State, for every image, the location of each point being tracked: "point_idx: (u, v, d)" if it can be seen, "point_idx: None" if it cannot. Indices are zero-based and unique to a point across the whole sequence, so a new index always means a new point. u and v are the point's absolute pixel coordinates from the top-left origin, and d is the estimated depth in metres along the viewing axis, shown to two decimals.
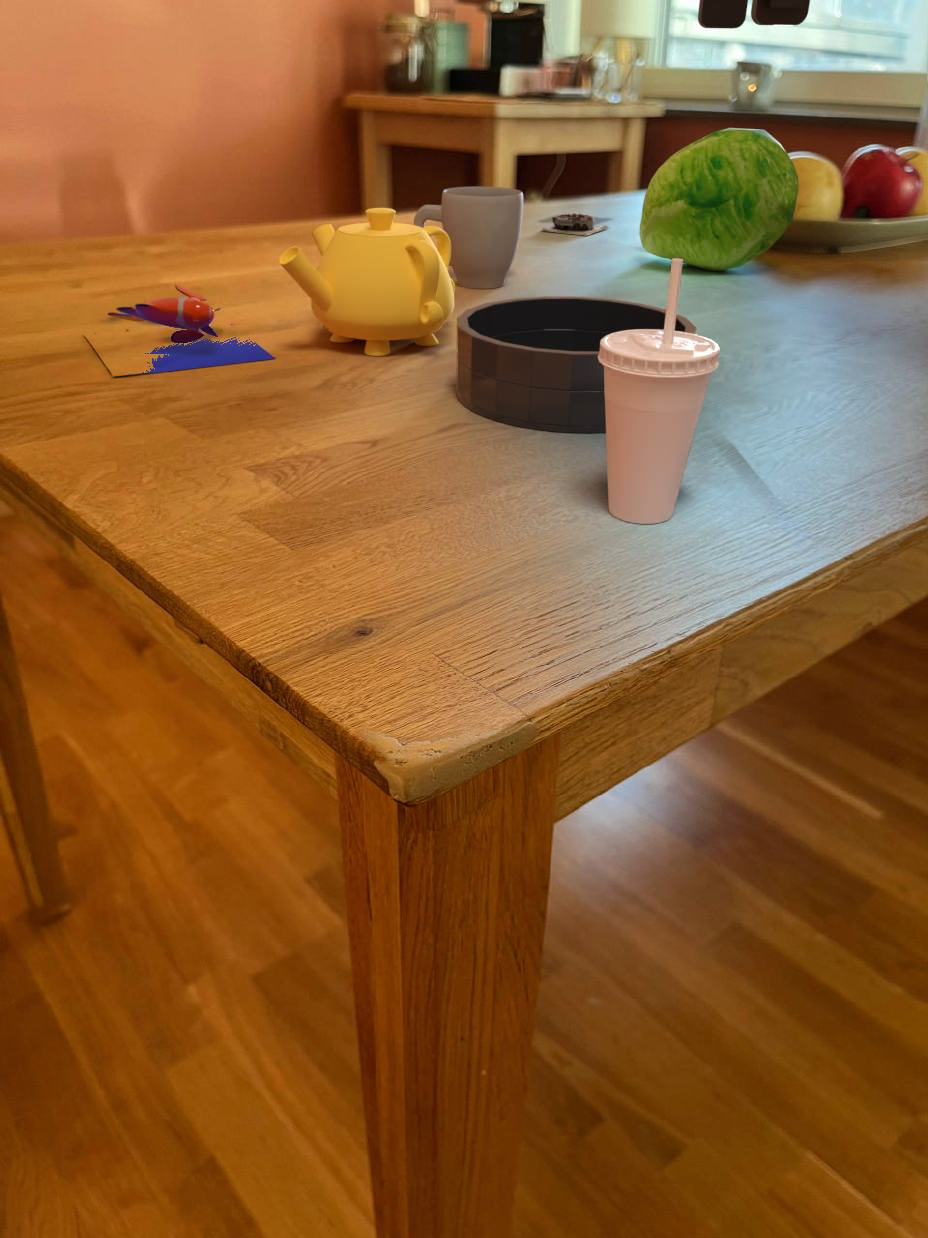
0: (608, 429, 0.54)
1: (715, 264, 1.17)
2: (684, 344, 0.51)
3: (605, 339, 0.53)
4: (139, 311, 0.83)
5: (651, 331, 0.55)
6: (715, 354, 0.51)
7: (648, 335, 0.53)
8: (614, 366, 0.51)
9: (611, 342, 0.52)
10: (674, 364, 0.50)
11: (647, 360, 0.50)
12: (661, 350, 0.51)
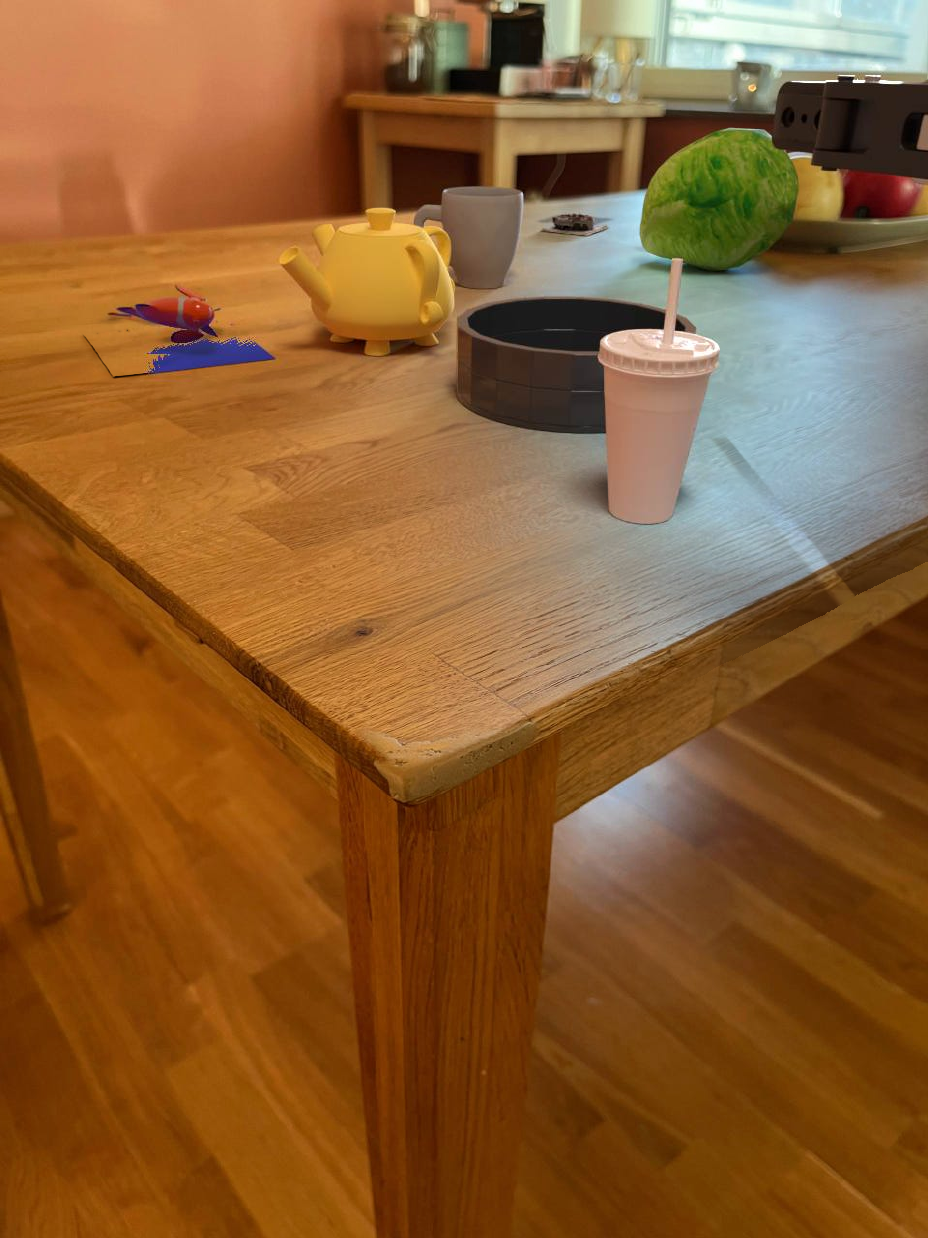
0: (608, 429, 0.54)
1: (715, 264, 1.17)
2: (684, 344, 0.51)
3: (605, 339, 0.53)
4: (139, 311, 0.83)
5: (651, 331, 0.55)
6: (715, 354, 0.51)
7: (648, 335, 0.53)
8: (614, 366, 0.51)
9: (611, 342, 0.52)
10: (674, 364, 0.50)
11: (647, 360, 0.50)
12: (661, 350, 0.51)
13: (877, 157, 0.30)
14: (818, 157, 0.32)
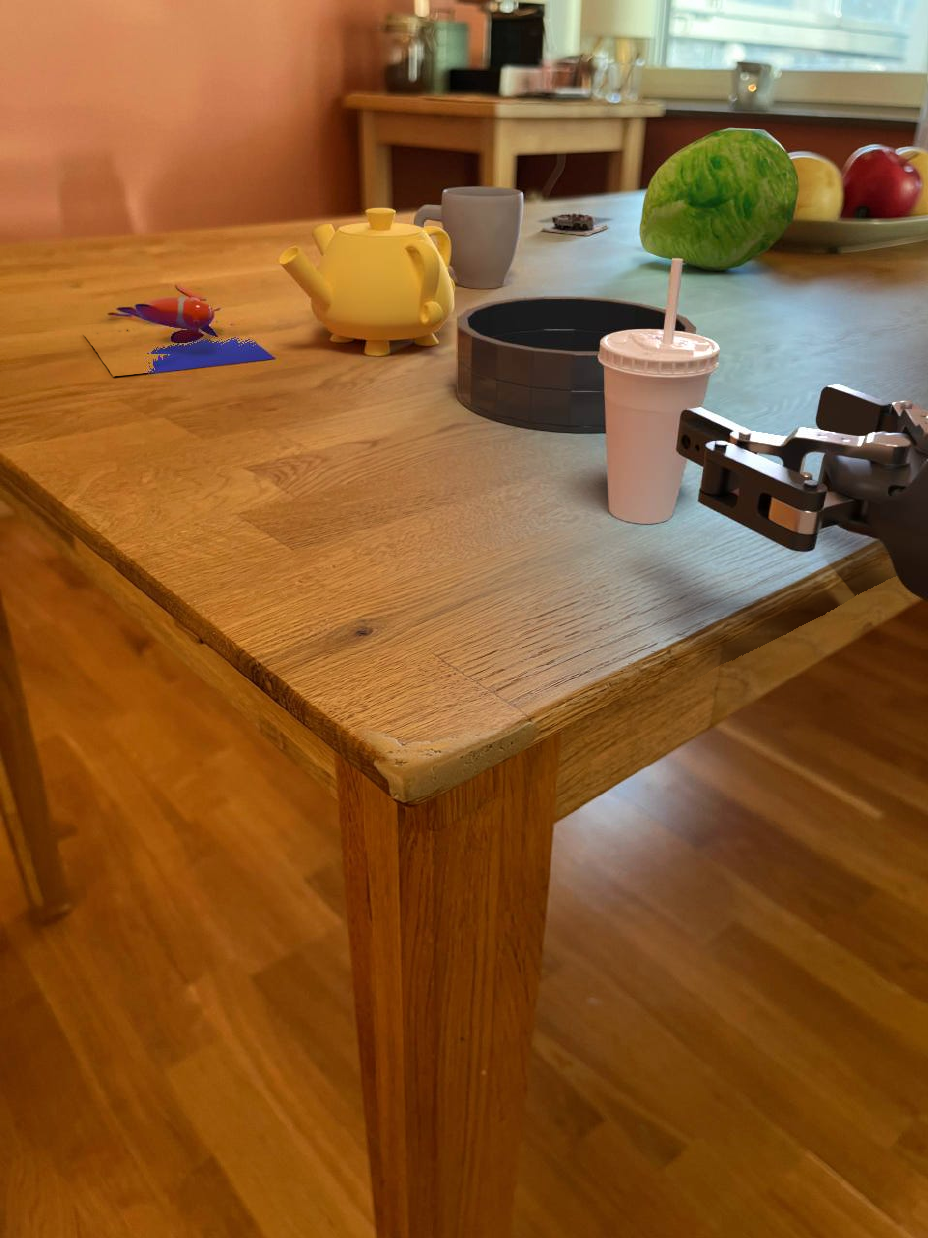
0: (608, 429, 0.54)
1: (715, 264, 1.17)
2: (684, 344, 0.51)
3: (605, 339, 0.53)
4: (139, 311, 0.83)
5: (651, 331, 0.55)
6: (715, 354, 0.51)
7: (648, 335, 0.53)
8: (614, 366, 0.51)
9: (611, 342, 0.52)
10: (674, 364, 0.50)
11: (647, 360, 0.50)
12: (661, 350, 0.51)
13: (742, 514, 0.39)
14: (702, 498, 0.41)
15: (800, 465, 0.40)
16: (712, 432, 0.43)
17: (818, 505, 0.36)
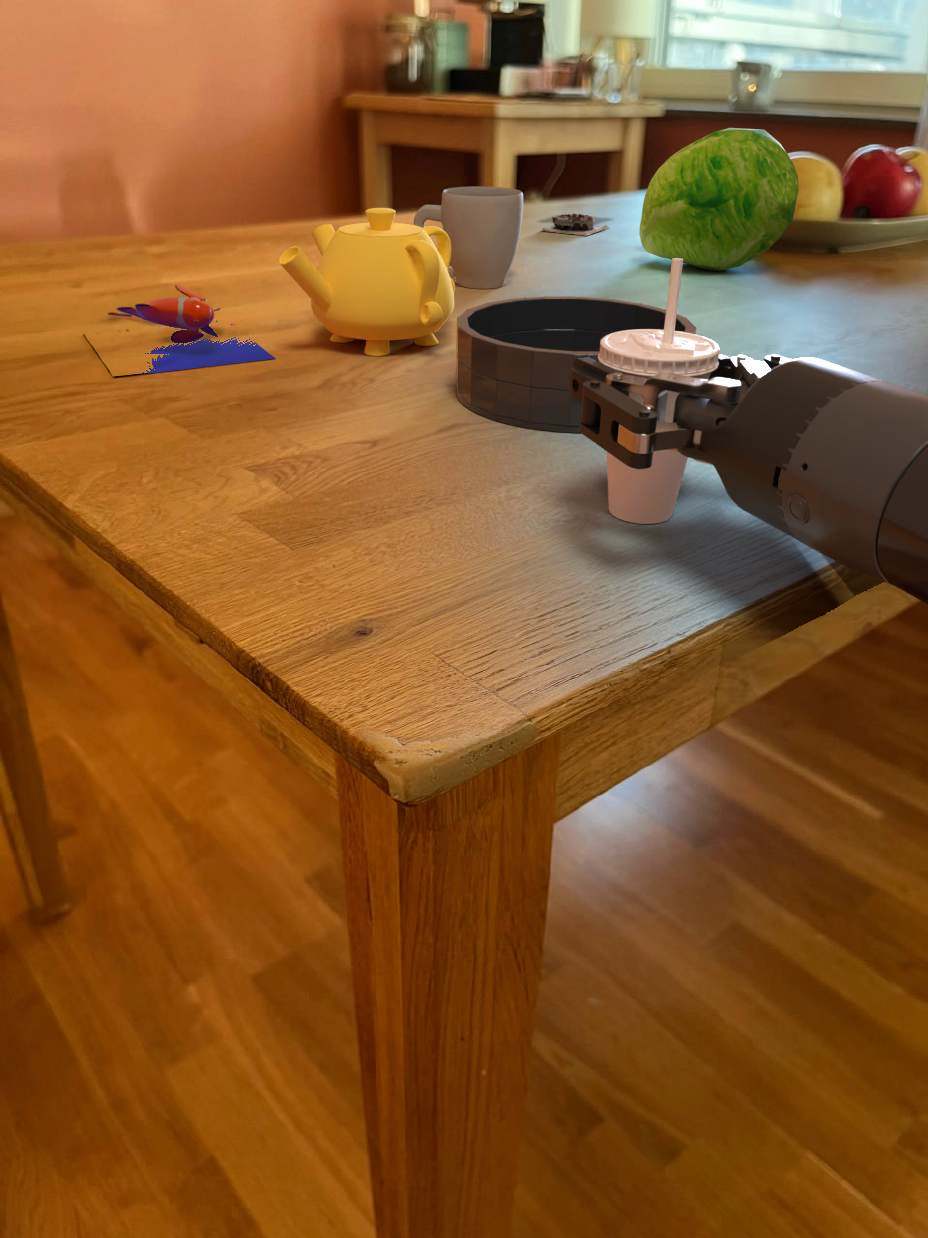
0: None
1: (715, 264, 1.17)
2: (684, 344, 0.51)
3: (605, 339, 0.53)
4: (139, 311, 0.83)
5: (651, 331, 0.55)
6: (715, 354, 0.51)
7: (648, 335, 0.53)
8: (614, 366, 0.51)
9: (611, 342, 0.52)
10: (674, 364, 0.50)
11: (647, 360, 0.50)
12: (661, 350, 0.51)
13: (602, 439, 0.47)
14: (581, 427, 0.49)
15: (656, 402, 0.48)
16: (596, 376, 0.51)
17: (647, 429, 0.44)
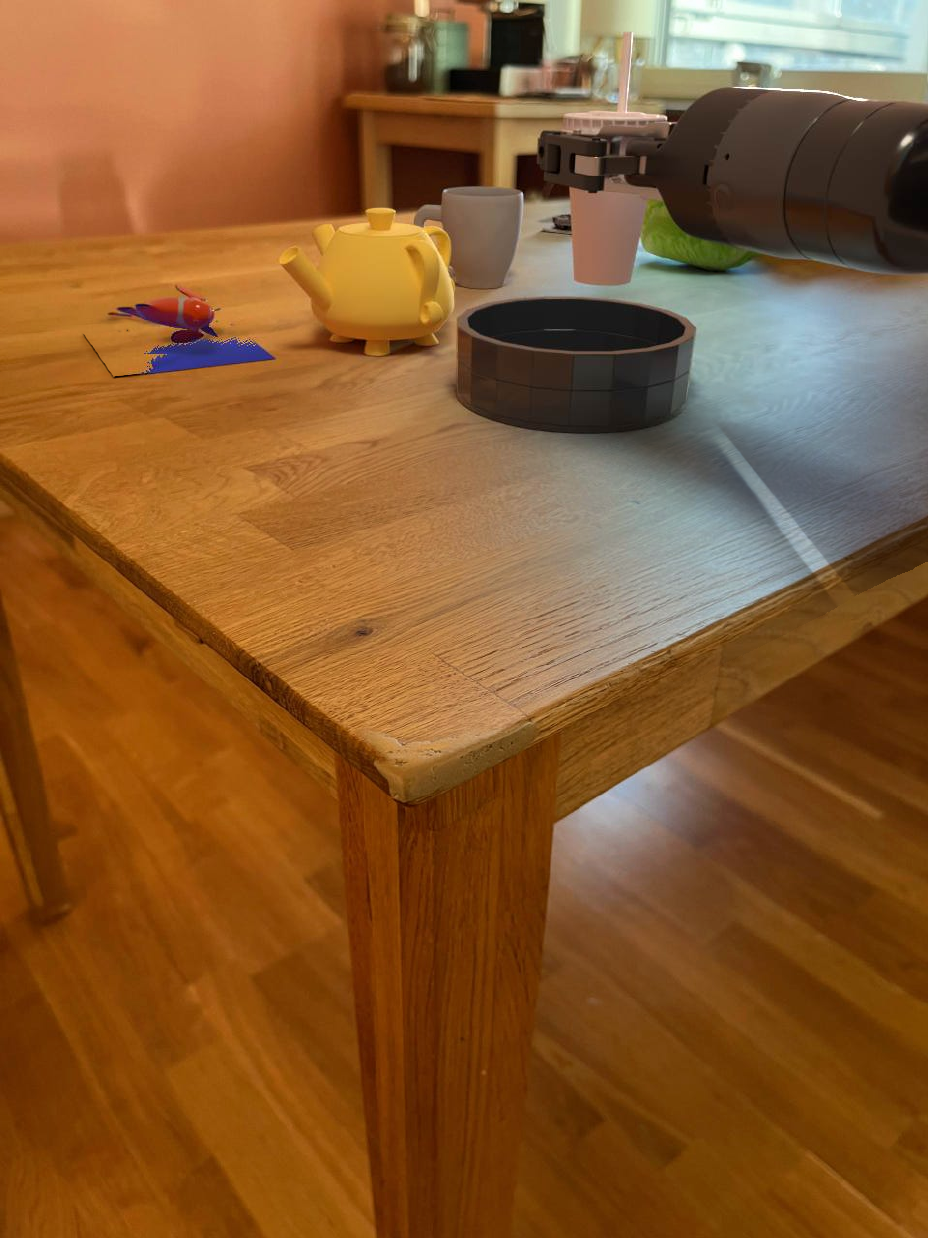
0: (571, 197, 0.62)
1: (715, 264, 1.17)
2: None
3: (568, 113, 0.60)
4: (139, 311, 0.83)
5: None
6: (662, 118, 0.58)
7: (605, 111, 0.60)
8: None
9: None
10: (626, 122, 0.57)
11: (603, 119, 0.57)
12: (615, 115, 0.58)
13: (562, 176, 0.55)
14: (545, 175, 0.57)
15: (609, 148, 0.56)
16: None
17: (599, 152, 0.52)
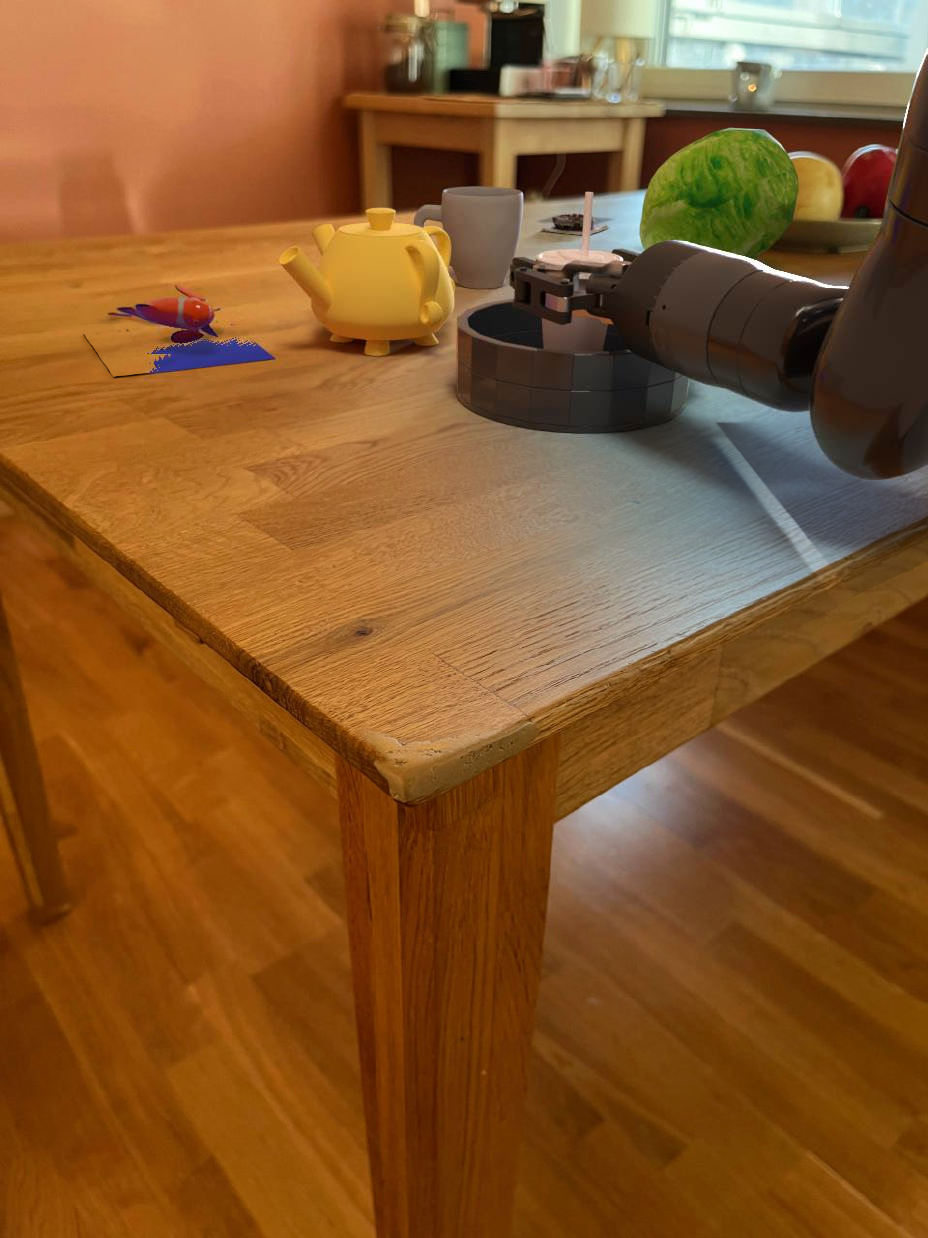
0: (543, 323, 0.72)
1: None
2: (596, 256, 0.70)
3: (539, 254, 0.71)
4: (139, 311, 0.83)
5: (576, 250, 0.73)
6: None
7: (571, 251, 0.71)
8: None
9: (544, 256, 0.71)
10: None
11: None
12: (579, 260, 0.69)
13: (533, 307, 0.65)
14: (514, 303, 0.67)
15: (572, 281, 0.66)
16: (527, 268, 0.69)
17: (568, 293, 0.62)
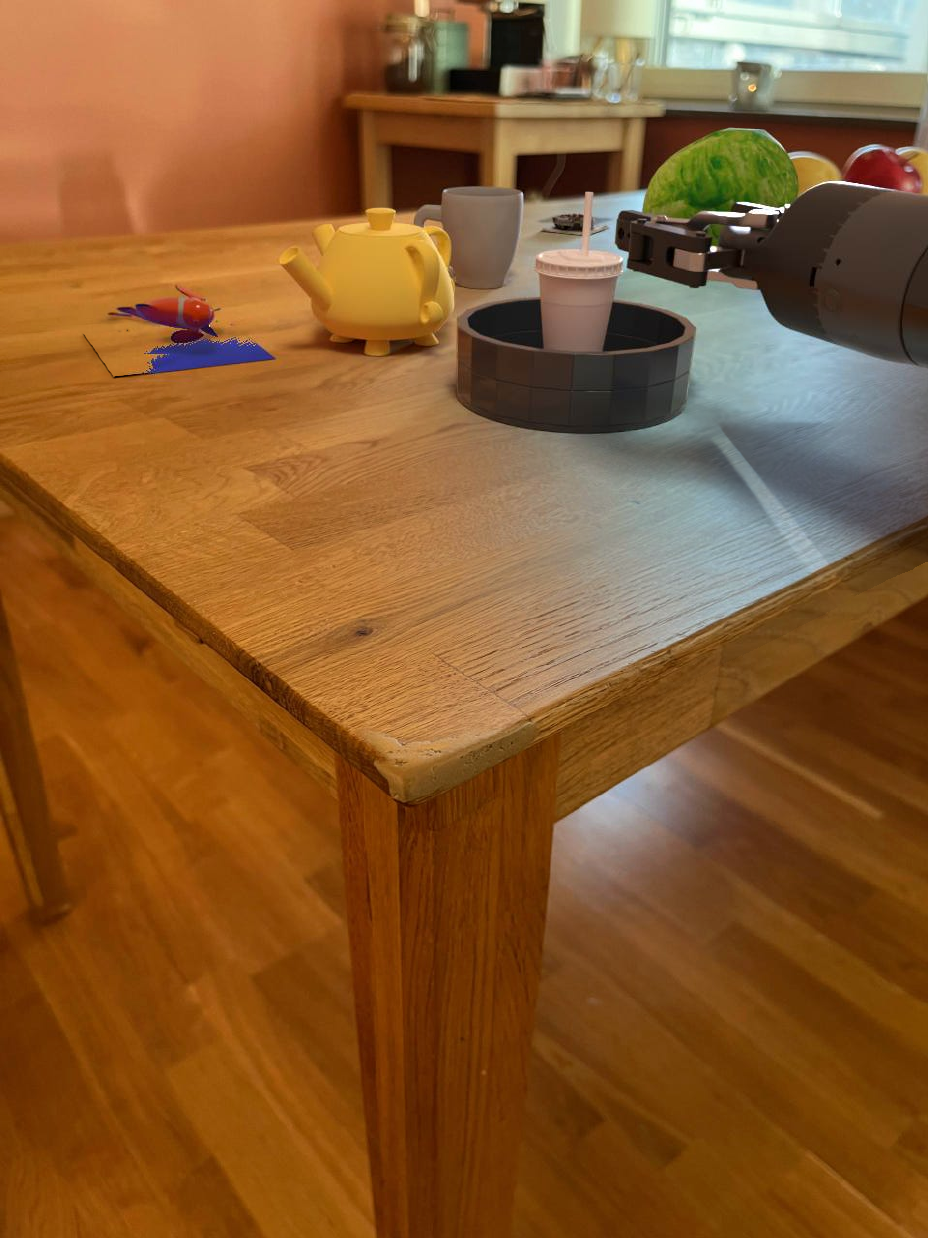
0: (543, 323, 0.72)
1: None
2: (596, 256, 0.70)
3: (539, 254, 0.71)
4: (139, 311, 0.83)
5: (576, 250, 0.73)
6: (618, 263, 0.69)
7: (571, 251, 0.71)
8: (545, 272, 0.69)
9: (544, 256, 0.71)
10: (587, 268, 0.68)
11: (568, 266, 0.68)
12: (579, 260, 0.69)
13: (656, 268, 0.53)
14: (629, 264, 0.55)
15: None
16: None
17: (705, 248, 0.50)
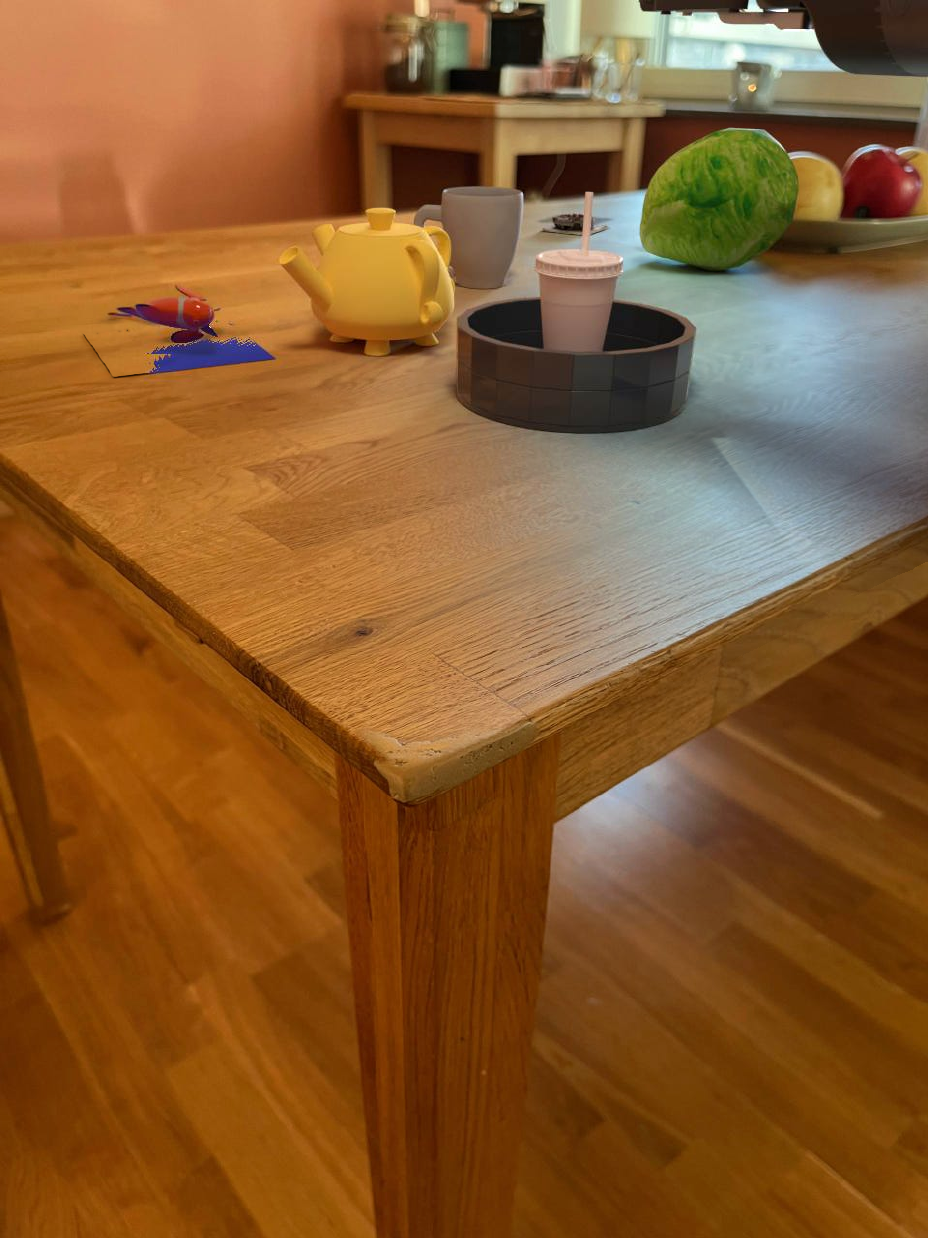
0: (543, 323, 0.72)
1: (715, 264, 1.17)
2: (596, 256, 0.70)
3: (539, 254, 0.71)
4: (139, 311, 0.83)
5: (576, 250, 0.73)
6: (618, 263, 0.69)
7: (571, 251, 0.71)
8: (545, 272, 0.69)
9: (544, 256, 0.71)
10: (587, 268, 0.68)
11: (568, 266, 0.68)
12: (579, 260, 0.69)
13: None
14: (657, 4, 0.48)
15: None
16: None
17: None
